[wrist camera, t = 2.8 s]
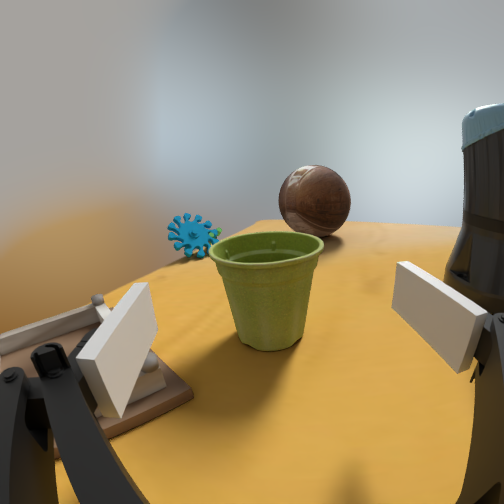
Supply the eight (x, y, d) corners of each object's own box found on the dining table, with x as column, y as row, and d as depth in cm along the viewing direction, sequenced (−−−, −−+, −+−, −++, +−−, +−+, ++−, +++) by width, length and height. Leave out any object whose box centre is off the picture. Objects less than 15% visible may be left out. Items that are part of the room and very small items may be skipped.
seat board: (193, 397, 18) (183, 359, 17) (-12, 477, 7) (-44, 443, 6) (115, 314, 31) (107, 287, 30) (-11, 357, 20) (-23, 330, 19)
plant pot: (335, 355, 22) (341, 254, 20) (220, 370, 21) (204, 268, 19) (307, 305, 31) (306, 228, 28) (221, 315, 30) (211, 236, 28)
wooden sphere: (267, 241, 59) (262, 167, 55) (300, 226, 70) (297, 165, 66) (337, 249, 50) (335, 164, 46) (358, 231, 62) (357, 164, 57)
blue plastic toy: (176, 256, 47) (163, 211, 51) (169, 274, 51) (157, 231, 55) (232, 251, 53) (215, 210, 58) (221, 267, 58) (206, 228, 62)
